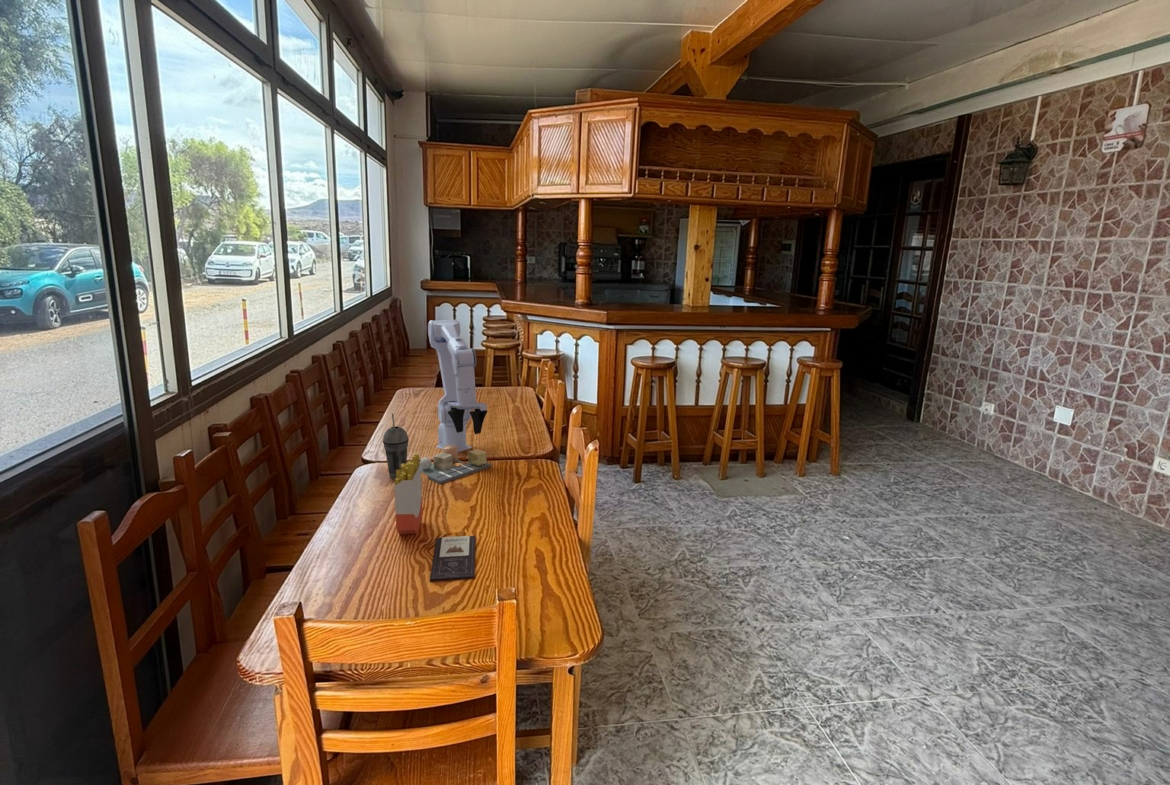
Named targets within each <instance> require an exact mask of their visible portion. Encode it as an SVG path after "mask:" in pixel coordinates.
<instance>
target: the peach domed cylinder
mask: <svg viewBox="0 0 1170 785" xmlns="http://www.w3.org/2000/svg"><path fill="white" fill-rule="evenodd" d="M442 453H447V454H451V455H452V462H453V464H455V463H457V462H458V460H459V458H458V452H457V446H456V445H446V446H443V450H442Z"/></svg>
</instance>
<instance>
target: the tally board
mask: <svg viewBox="0 0 1170 785" xmlns="http://www.w3.org/2000/svg"><path fill="white" fill-rule="evenodd" d="M465 463H466V464H463V465H459V466H456V467H453V468H450V469H447V470H444V471H441V472H437V473H434V474H431V475H427V479H428V480H430V481H432V482H434V483H436V484H439V485H443V484H445V483H447V482H451V481H454V480H457V479H459V478H463V477H466V476H469V475H472V474H474V473H478V472H481V471H483V469H484V470H486V468H487V469H489V467H490V468H492V463H489V462H487V461H486V463H485V464H482V465H479V466H476V465H474V464H471V463H469V462H465ZM480 470H481V471H480Z"/></svg>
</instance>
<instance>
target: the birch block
mask: <svg viewBox="0 0 1170 785" xmlns="http://www.w3.org/2000/svg"><path fill="white" fill-rule="evenodd" d="M433 463H434V469H437V470H442V471H444V470H447V469H450V468H452V467H453V462H452V455H451V454H447V453H443V452H439V453H437V454H435V455H433Z"/></svg>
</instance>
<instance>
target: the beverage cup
mask: <svg viewBox="0 0 1170 785" xmlns="http://www.w3.org/2000/svg"><path fill="white" fill-rule="evenodd" d="M391 419H392V426H391V427H389V428H388V429H387V430H386V431H384V434H383V436H382V437H383V438H382V443H383V447H384V449H385V457H386V463H387V468H388V469H387V470H388V475H389V479H391V480H394V481H395V479H396V478H397V477H396V470H401V466H400V465H401V464H406V463H407V461H408V447H409V441H410V439H409V435H408V433H407V431H406V430H405V429H404V428H402V427H400V426H398V425H397V426H396V425H395V424H396V423H395V416H394V412H392V413H391Z"/></svg>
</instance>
